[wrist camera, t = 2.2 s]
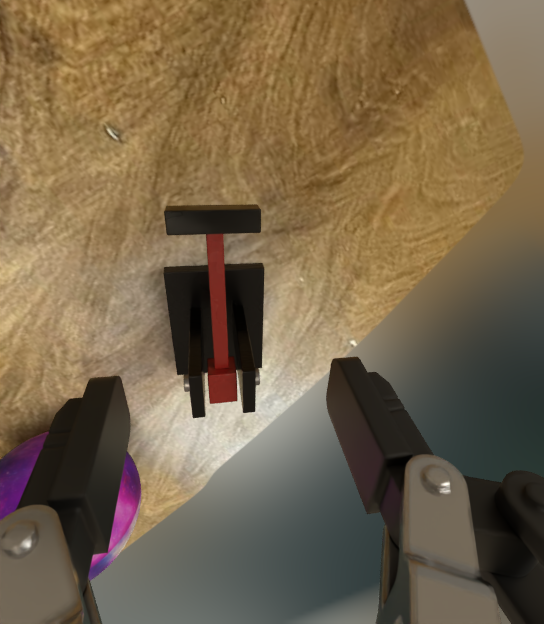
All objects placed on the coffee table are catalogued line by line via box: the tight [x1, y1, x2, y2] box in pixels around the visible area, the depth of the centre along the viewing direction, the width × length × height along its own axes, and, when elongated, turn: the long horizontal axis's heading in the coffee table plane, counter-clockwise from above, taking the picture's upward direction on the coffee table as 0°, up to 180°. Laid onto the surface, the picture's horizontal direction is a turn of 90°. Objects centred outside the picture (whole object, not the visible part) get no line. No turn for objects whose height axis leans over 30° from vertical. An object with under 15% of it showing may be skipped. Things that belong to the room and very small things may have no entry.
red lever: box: [164, 205, 261, 404], centre depth 27 cm, size 15×6×2 cm, turn 178°
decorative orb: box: [0, 431, 141, 580], centre depth 38 cm, size 15×15×15 cm
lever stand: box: [164, 263, 264, 418], centre depth 33 cm, size 12×9×11 cm
